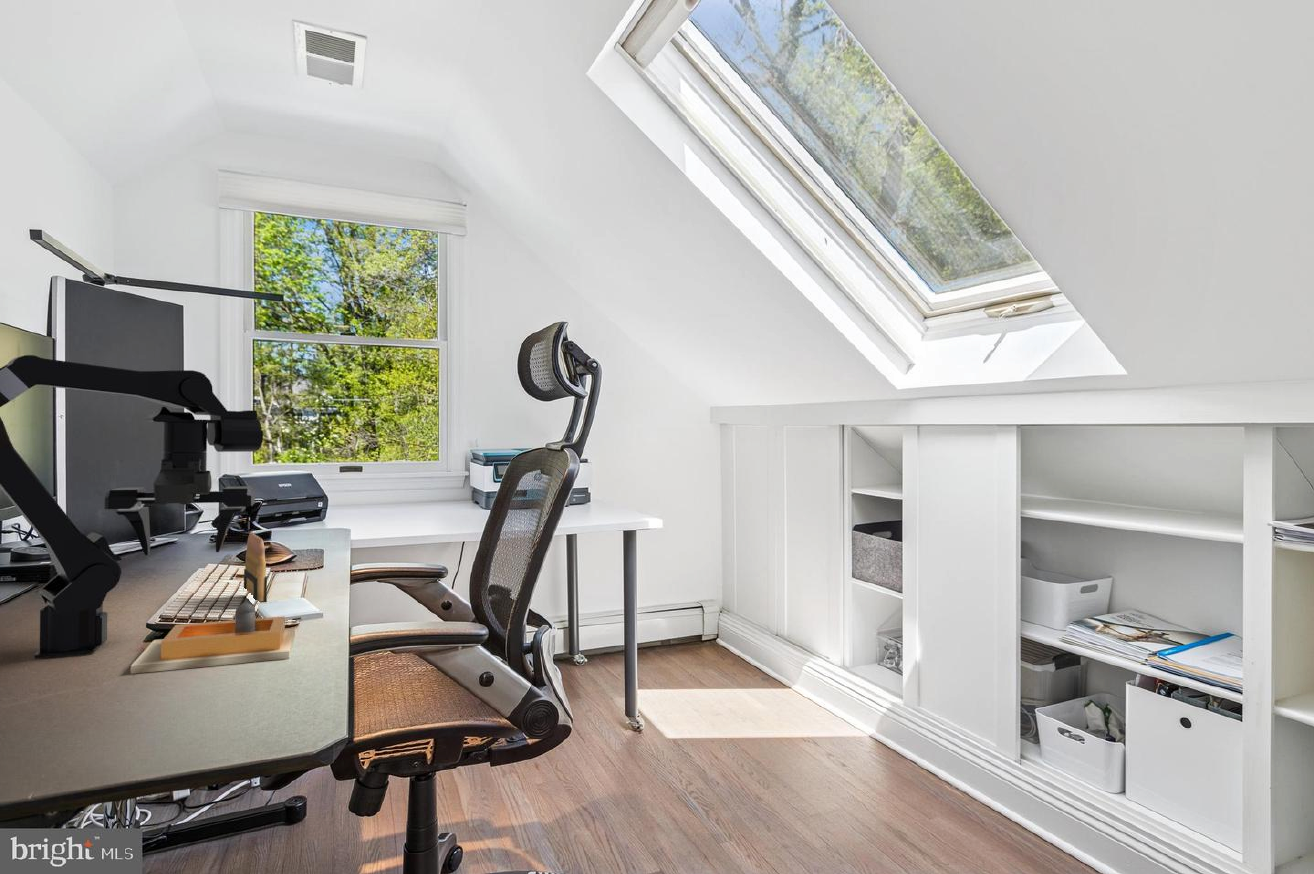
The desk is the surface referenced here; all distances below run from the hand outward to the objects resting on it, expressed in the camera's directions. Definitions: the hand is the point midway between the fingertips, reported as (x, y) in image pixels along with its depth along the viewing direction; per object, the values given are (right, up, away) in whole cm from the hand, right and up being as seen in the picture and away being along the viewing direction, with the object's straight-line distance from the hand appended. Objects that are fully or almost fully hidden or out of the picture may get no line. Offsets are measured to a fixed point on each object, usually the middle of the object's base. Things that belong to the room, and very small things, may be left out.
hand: (183, 553), depth 110 cm
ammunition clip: (0, -12, +20) cm, 23 cm away
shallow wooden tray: (+13, -11, -10) cm, 20 cm away
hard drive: (+10, -13, +12) cm, 20 cm away
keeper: (+12, -12, -10) cm, 20 cm away
